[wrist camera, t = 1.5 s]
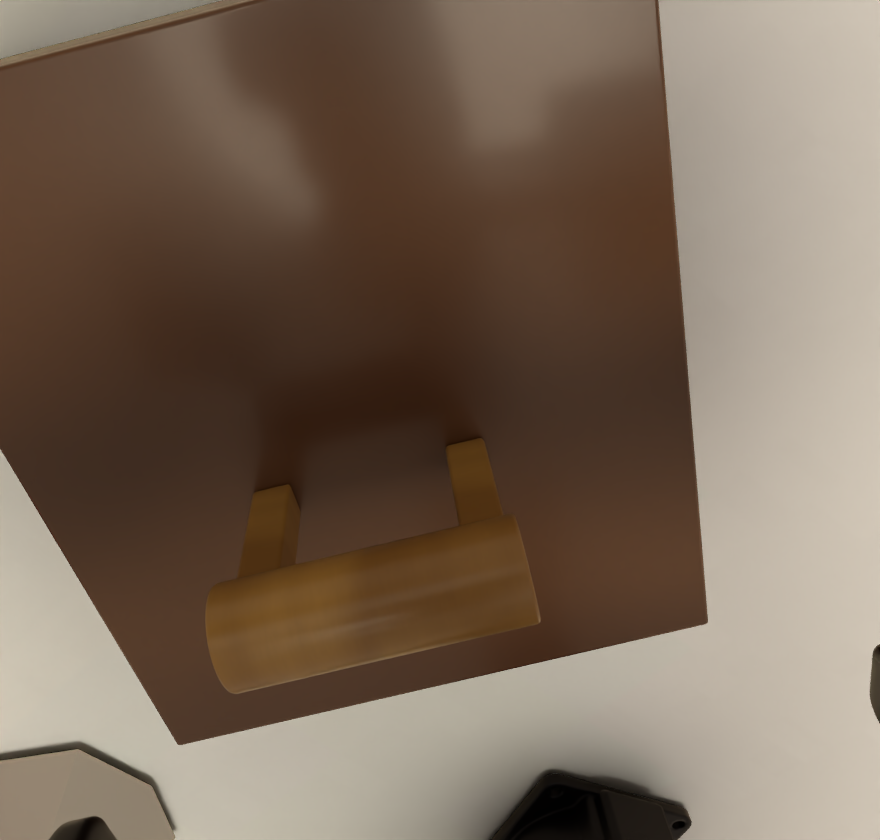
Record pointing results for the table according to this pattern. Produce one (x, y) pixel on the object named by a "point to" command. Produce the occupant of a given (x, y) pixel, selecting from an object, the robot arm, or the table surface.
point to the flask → (75, 798)
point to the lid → (351, 344)
